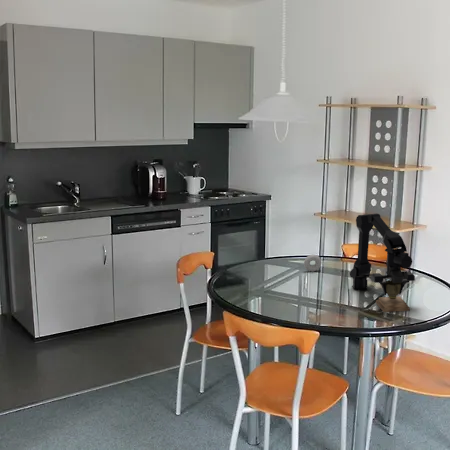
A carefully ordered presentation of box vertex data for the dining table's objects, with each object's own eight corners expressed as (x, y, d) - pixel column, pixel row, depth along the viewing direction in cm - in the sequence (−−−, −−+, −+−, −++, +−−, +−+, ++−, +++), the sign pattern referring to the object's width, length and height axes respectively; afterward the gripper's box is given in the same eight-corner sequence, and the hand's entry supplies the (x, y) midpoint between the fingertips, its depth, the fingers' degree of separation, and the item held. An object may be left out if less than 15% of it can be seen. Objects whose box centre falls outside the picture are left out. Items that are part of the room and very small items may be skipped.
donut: (305, 273, 328) (304, 255, 326) (303, 271, 331) (303, 254, 329) (322, 271, 329) (322, 254, 327) (320, 269, 333) (320, 253, 330)
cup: (388, 294, 276) (388, 278, 274) (403, 297, 271) (403, 281, 269) (381, 299, 270) (381, 282, 268) (396, 302, 266) (397, 285, 264)
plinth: (383, 311, 265) (383, 305, 265) (375, 302, 277) (376, 296, 277) (409, 310, 266) (409, 304, 265) (400, 301, 278) (400, 295, 277)
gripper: (378, 268, 259) (377, 301, 262) (419, 266, 259) (418, 299, 263) (371, 261, 270) (370, 293, 273) (411, 259, 270) (410, 291, 274)
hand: (392, 294), depth 270 cm, fingers closed on cup, 6 cm apart
